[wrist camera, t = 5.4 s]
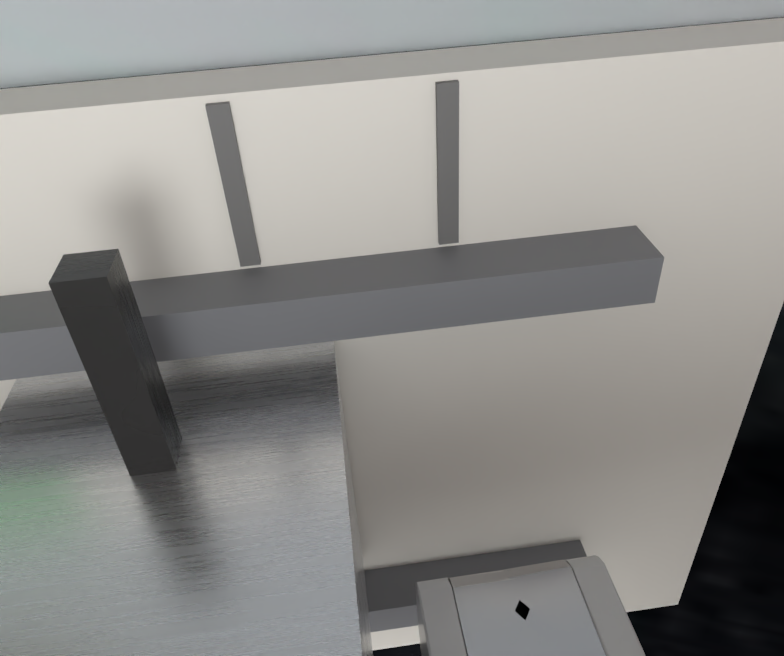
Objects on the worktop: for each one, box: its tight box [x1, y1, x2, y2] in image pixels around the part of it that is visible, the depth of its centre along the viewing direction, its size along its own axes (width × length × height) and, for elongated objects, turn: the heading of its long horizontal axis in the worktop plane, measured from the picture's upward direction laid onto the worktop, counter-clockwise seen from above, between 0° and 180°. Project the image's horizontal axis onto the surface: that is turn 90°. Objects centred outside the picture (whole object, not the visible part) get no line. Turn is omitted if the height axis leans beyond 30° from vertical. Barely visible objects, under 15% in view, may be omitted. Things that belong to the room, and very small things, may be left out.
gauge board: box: [0, 18, 784, 650], centre depth 11 cm, size 24×14×7 cm, turn 93°
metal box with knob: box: [0, 249, 373, 656], centre depth 9 cm, size 5×9×7 cm, turn 3°
